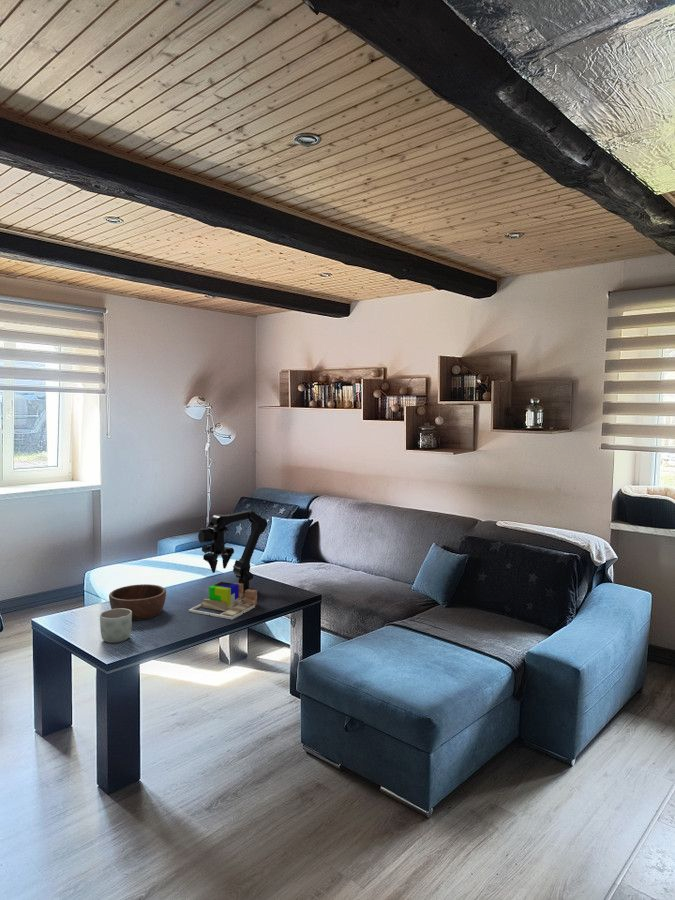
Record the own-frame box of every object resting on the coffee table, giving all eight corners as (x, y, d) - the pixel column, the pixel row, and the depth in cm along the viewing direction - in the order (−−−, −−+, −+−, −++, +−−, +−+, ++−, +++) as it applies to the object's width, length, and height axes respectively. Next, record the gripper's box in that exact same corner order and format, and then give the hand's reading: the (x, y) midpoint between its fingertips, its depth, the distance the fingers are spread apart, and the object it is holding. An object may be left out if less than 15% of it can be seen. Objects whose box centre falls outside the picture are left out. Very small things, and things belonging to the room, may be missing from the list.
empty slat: (248, 603, 296) (248, 589, 295) (256, 604, 294) (256, 590, 293) (223, 616, 277) (223, 601, 276) (232, 618, 275) (232, 603, 274)
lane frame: (213, 600, 300) (213, 598, 300) (255, 607, 290) (255, 605, 290) (188, 611, 283) (188, 609, 283) (232, 619, 273) (232, 617, 273)
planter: (122, 631, 257) (122, 606, 257) (138, 639, 249) (137, 613, 249) (94, 639, 248) (94, 613, 247) (109, 647, 240) (109, 620, 239)
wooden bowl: (110, 607, 288) (110, 586, 287) (165, 602, 296) (165, 582, 295) (107, 625, 264) (107, 602, 264) (167, 620, 272) (167, 597, 271)
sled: (226, 594, 309) (226, 581, 308) (251, 598, 303) (251, 585, 302) (201, 607, 290) (201, 592, 289) (227, 611, 284) (227, 596, 283)
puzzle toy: (238, 604, 294) (238, 584, 293) (226, 610, 285) (226, 589, 284) (221, 601, 298) (221, 581, 298) (209, 607, 289) (209, 587, 288)
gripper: (216, 535, 317) (216, 564, 318) (194, 542, 300) (194, 573, 301) (234, 537, 312) (234, 566, 313) (212, 544, 295) (213, 575, 296)
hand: (219, 570), depth 306 cm, fingers open, 9 cm apart
